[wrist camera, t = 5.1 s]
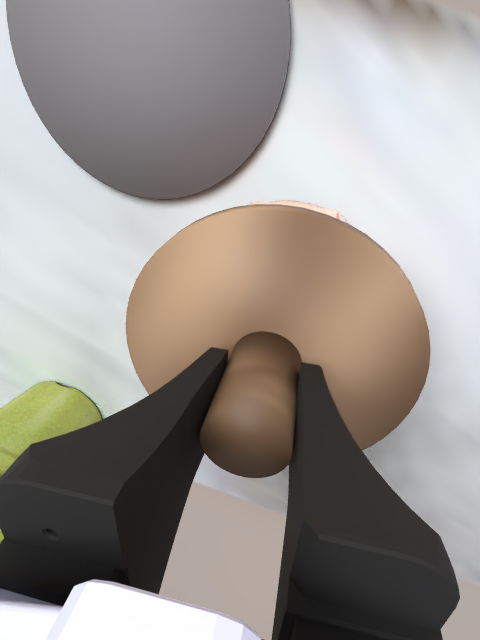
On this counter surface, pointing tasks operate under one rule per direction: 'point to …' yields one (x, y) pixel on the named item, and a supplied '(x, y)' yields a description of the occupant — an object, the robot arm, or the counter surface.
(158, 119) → the mat
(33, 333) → the counter surface
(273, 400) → the lid
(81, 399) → the plant pot
